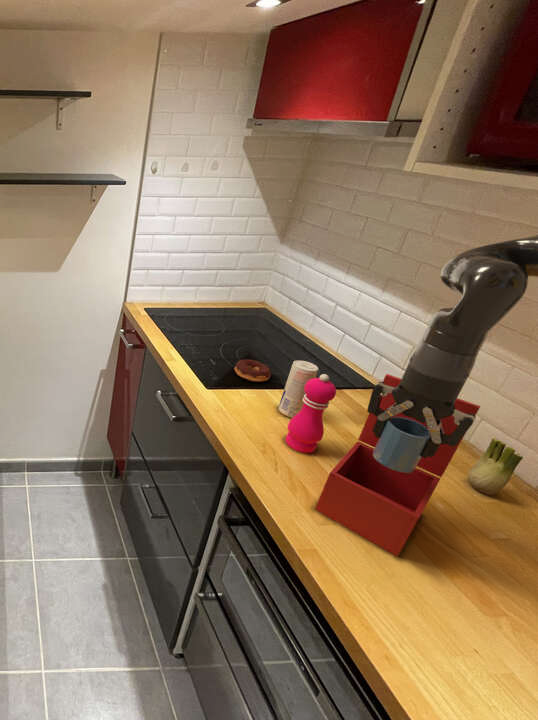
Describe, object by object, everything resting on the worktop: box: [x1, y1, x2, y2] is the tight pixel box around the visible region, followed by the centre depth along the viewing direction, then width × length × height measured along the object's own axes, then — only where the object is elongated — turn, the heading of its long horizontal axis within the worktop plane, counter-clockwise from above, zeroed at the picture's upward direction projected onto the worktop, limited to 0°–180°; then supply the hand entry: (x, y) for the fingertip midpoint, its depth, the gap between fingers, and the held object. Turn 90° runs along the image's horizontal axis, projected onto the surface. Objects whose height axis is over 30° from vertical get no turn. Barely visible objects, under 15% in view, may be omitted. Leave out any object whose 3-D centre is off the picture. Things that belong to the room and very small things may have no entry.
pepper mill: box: [285, 373, 337, 454], centre depth 105 cm, size 7×7×20 cm
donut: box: [234, 359, 272, 383], centre depth 138 cm, size 10×10×4 cm
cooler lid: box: [357, 373, 481, 478], centre depth 88 cm, size 16×14×5 cm
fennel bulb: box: [467, 437, 524, 496], centre depth 94 cm, size 6×5×12 cm
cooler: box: [314, 440, 441, 557], centre depth 88 cm, size 16×14×10 cm
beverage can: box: [277, 360, 319, 419], centre depth 118 cm, size 6×6×15 cm
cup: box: [373, 417, 431, 473], centre depth 83 cm, size 6×6×8 cm
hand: (400, 445), depth 83 cm, fingers closed on cup, 6 cm apart
